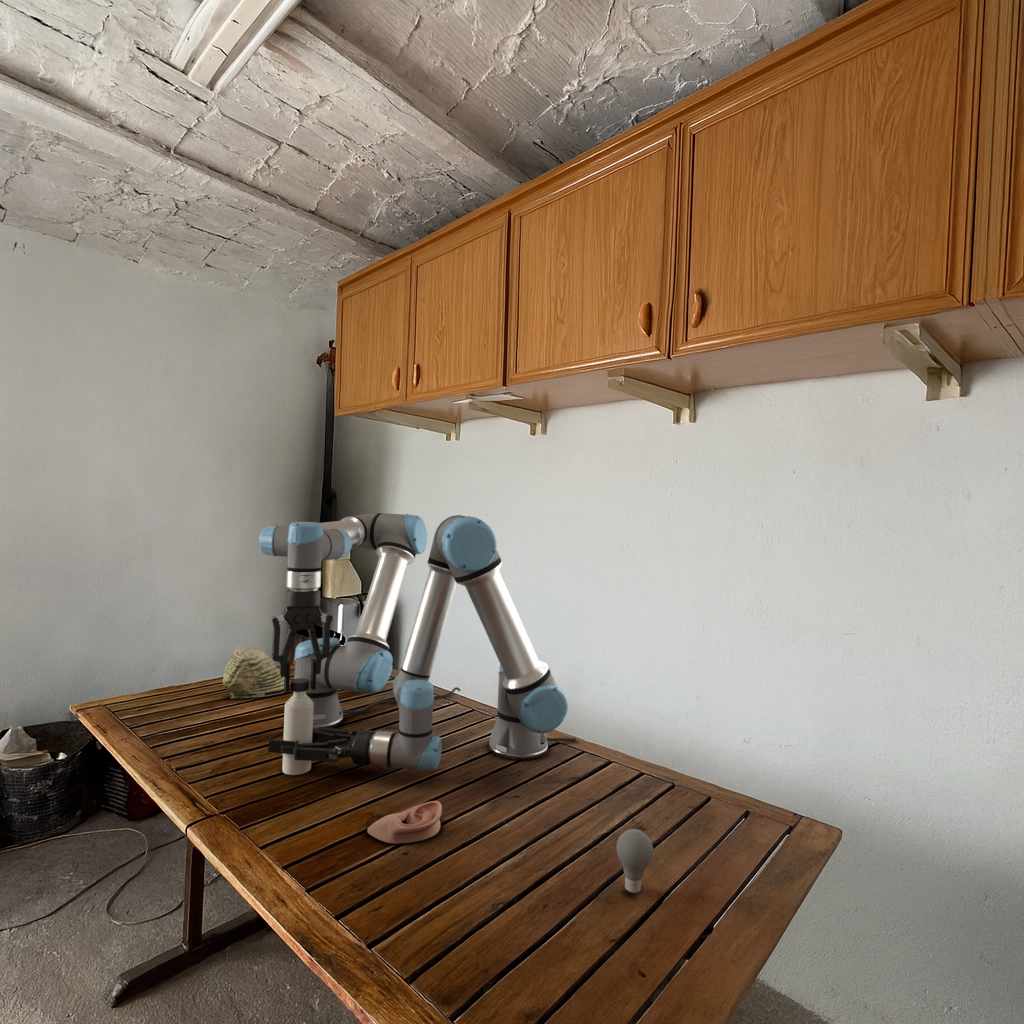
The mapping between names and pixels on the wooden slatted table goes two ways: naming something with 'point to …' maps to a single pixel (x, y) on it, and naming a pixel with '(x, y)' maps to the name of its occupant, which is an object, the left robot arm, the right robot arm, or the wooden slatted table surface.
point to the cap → (299, 685)
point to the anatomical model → (408, 824)
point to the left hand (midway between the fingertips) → (299, 689)
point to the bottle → (297, 730)
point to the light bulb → (634, 857)
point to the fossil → (252, 674)
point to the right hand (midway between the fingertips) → (276, 739)
